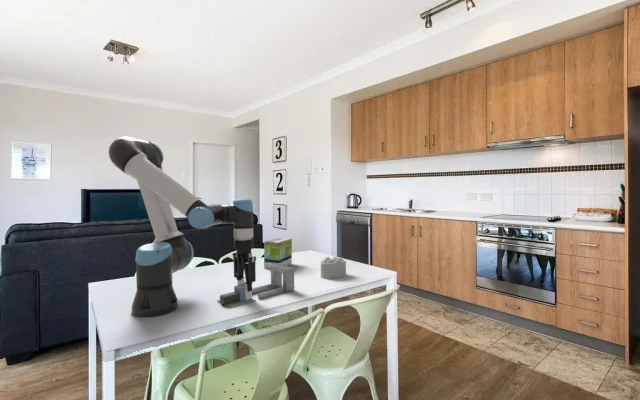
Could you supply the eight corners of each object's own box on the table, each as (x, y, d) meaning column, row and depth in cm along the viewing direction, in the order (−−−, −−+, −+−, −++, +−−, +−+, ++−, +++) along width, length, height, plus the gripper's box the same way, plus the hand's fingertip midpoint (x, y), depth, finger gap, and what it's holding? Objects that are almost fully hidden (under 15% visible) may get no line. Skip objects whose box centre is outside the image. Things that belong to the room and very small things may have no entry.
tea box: (280, 270, 181) (280, 242, 180) (263, 268, 184) (263, 241, 184) (292, 263, 195) (292, 238, 194) (276, 262, 198) (276, 237, 198)
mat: (230, 308, 125) (230, 307, 125) (217, 301, 132) (217, 300, 132) (255, 300, 132) (255, 300, 132) (242, 294, 140) (242, 294, 140)
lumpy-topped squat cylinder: (348, 275, 170) (348, 258, 170) (330, 280, 161) (330, 262, 160) (333, 271, 177) (333, 255, 177) (315, 276, 168) (315, 258, 168)
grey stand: (260, 299, 134) (260, 275, 133) (246, 293, 141) (245, 270, 141) (294, 290, 145) (294, 268, 145) (279, 285, 153) (279, 264, 153)
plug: (224, 305, 126) (224, 292, 126) (219, 302, 129) (218, 289, 129) (251, 298, 134) (251, 285, 134) (245, 295, 137) (245, 283, 137)
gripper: (264, 240, 130) (265, 300, 131) (240, 235, 142) (241, 290, 143) (247, 242, 125) (248, 305, 126) (223, 237, 137) (225, 294, 138)
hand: (244, 297), depth 135 cm, fingers closed on plug, 4 cm apart
